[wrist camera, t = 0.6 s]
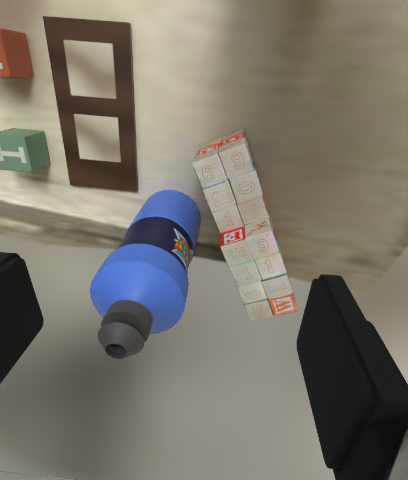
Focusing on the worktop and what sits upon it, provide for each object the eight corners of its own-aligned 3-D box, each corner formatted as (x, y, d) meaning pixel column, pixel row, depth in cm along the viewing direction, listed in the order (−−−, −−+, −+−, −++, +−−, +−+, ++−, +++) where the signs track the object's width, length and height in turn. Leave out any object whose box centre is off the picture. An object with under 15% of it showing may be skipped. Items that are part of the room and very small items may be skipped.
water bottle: (150, 246, 48) (84, 389, 26) (134, 193, 44) (38, 311, 22) (206, 240, 47) (184, 385, 25) (195, 184, 42) (157, 302, 20)
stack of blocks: (199, 144, 39) (187, 170, 29) (244, 127, 38) (249, 147, 27) (246, 268, 49) (250, 323, 38) (283, 259, 47) (299, 313, 36)
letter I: (12, 128, 40) (-12, 134, 36) (44, 131, 40) (23, 137, 36) (20, 160, 42) (-2, 169, 38) (50, 163, 42) (31, 173, 38)
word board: (45, 16, 34) (42, 15, 33) (131, 23, 33) (129, 22, 33) (72, 183, 44) (69, 185, 43) (138, 190, 43) (136, 191, 43)
